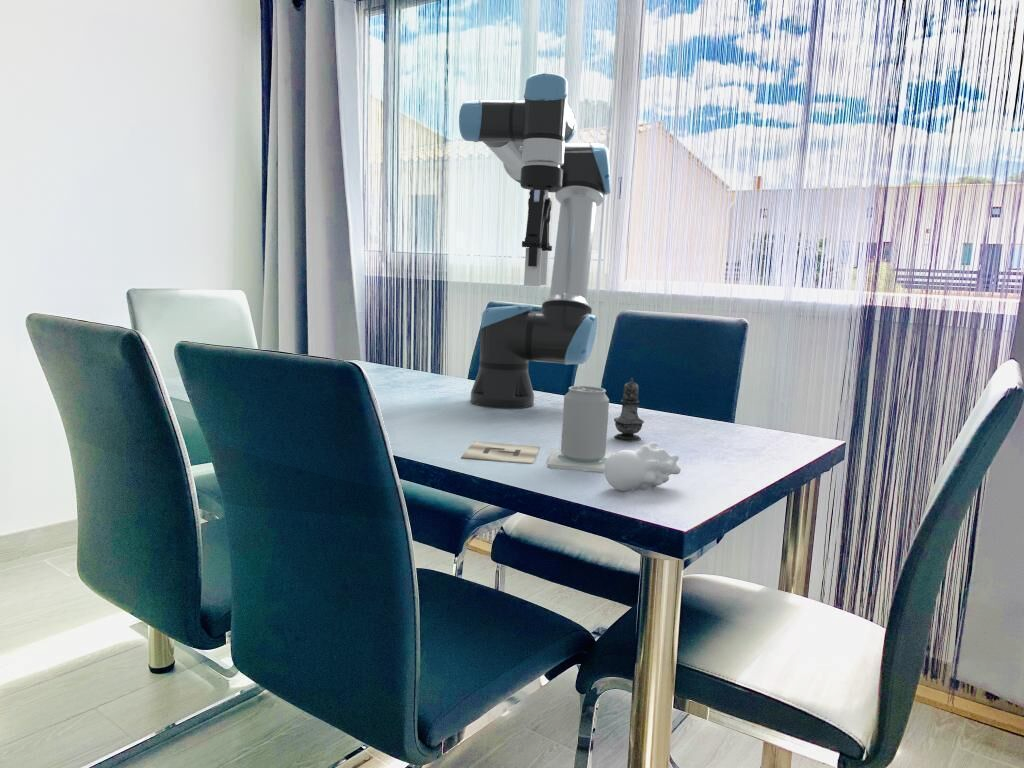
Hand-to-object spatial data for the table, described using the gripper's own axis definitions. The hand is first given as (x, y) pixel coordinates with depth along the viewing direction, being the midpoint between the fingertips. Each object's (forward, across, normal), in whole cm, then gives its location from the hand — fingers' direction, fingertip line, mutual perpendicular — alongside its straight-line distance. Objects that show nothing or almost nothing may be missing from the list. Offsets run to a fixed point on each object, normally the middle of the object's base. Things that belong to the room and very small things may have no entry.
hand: (535, 285), depth 138 cm
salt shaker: (+29, -7, +19) cm, 35 cm away
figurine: (+29, +28, +20) cm, 45 cm away
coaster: (+29, +15, +11) cm, 34 cm away
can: (+28, +15, +11) cm, 34 cm away
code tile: (+29, +13, -3) cm, 32 cm away
